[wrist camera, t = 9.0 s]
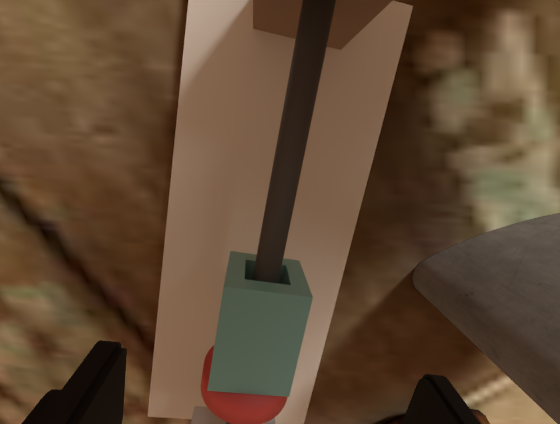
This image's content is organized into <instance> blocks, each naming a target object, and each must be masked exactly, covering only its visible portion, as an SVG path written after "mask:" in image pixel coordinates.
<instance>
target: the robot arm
mask: <svg viewBox="0 0 560 424" xmlns="http://www.w3.org/2000/svg"><path fill="white" fill-rule="evenodd" d="M126 354H127V350H126V349H125V348H121V343H119V342H111V341H101V340H100V341H98V342H97V343H96V344H95V346H94V347H93V348H92V350H91V351H90V352H89V354H88V355H87V356H86V358H85V359H84V360H83V362H82V363H81V364H80V366H79V367H78V368H77V370H76V371H75V372H74V374H73V375H72V376H71V378H70V379H69V381H68V382H67V383H66V385H65V386H64V387H63V389H62V390H56V389H55V390H51V391H49V392H48V393H46V394H45V396H44V397H43V398H42V399H41V400H40V401H39V403H38V404H37V405H36V406H35V408H34V409H33V410H32V411H31V413H30V414H29V415H28V416H27V418H26V419H25V420H24V421H23V423H22V424H121V423H122V419H123V405H124V388H125V371H126ZM402 424H481V423H480V422H479V421H478V419H477V418H476V417H475V415H474V414H473V413H472V411H471V410H470V409H469V407H468V406H467V405H466V403H465V402H464V401H463V399H462V398H461V396H460V395H459V394H458V392H457V391H456V390H455V388H454V387H453V386H452V384H451V383H450V382H449V380H448V379H447V378H446V377H444V376H439V375H430V374H426V375H424V376H423V378H422V379H420V380H419V381H418V384H417V386H416V389H415V391H414V394H413V396H412V399H411V401H410V404H409V406H408V409H407V411H406V414H405V416H404V419H403V422H402Z"/></svg>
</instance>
